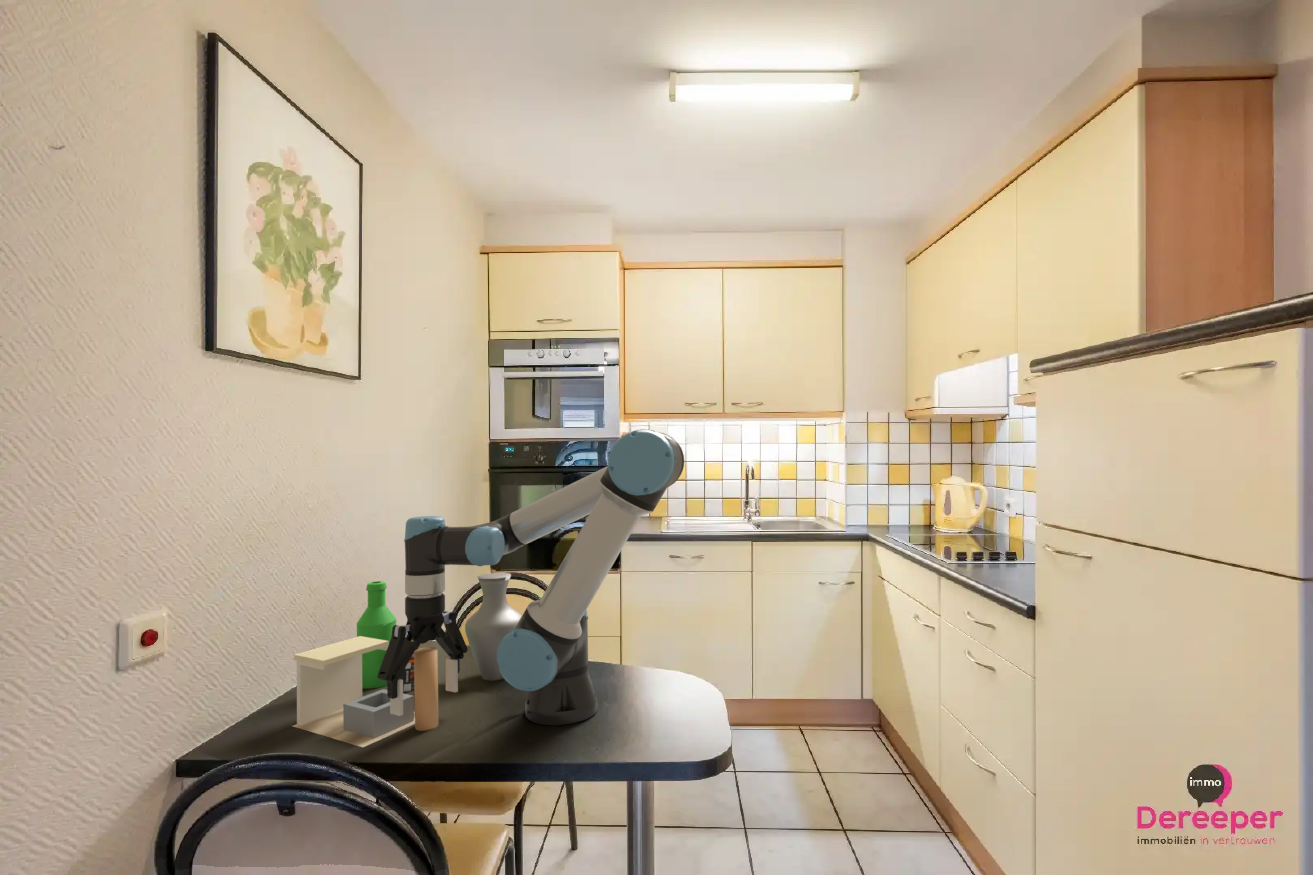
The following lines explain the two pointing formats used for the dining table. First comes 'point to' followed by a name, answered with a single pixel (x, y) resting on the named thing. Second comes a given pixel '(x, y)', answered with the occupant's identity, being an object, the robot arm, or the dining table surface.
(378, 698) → the socket
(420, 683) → the peg
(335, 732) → the board
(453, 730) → the dining table surface
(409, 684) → the supplement bottle
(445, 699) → the dining table surface
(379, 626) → the bottle
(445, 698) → the dining table surface
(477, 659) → the vase
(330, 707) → the cream shelf stand
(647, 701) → the dining table surface
